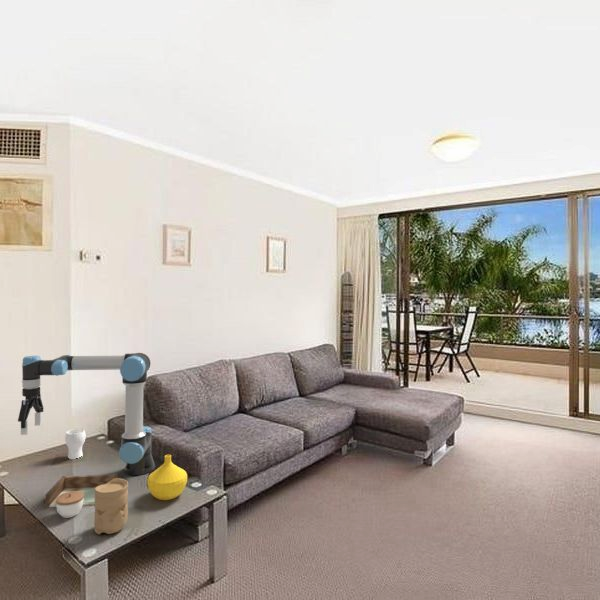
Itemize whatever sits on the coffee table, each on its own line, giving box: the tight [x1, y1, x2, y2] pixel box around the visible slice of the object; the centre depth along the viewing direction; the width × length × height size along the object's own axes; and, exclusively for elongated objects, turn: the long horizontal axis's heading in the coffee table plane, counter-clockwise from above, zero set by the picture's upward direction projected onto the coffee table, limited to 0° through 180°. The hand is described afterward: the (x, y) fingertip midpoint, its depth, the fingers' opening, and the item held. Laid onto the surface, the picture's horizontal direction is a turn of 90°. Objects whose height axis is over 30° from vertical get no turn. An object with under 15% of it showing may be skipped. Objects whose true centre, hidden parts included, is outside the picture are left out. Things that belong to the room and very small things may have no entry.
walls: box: [45, 473, 119, 507], centre depth 199 cm, size 26×18×6 cm
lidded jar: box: [55, 491, 84, 519], centre depth 183 cm, size 11×11×9 cm
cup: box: [64, 428, 87, 460], centre depth 244 cm, size 11×11×15 cm
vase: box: [147, 454, 188, 501], centre depth 201 cm, size 18×18×19 cm
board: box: [45, 487, 96, 508], centre depth 199 cm, size 26×18×1 cm
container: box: [93, 477, 129, 536], centre depth 173 cm, size 13×13×18 cm
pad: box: [80, 488, 95, 503], centre depth 198 cm, size 14×14×1 cm
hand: (31, 429), depth 208 cm, fingers open, 13 cm apart
